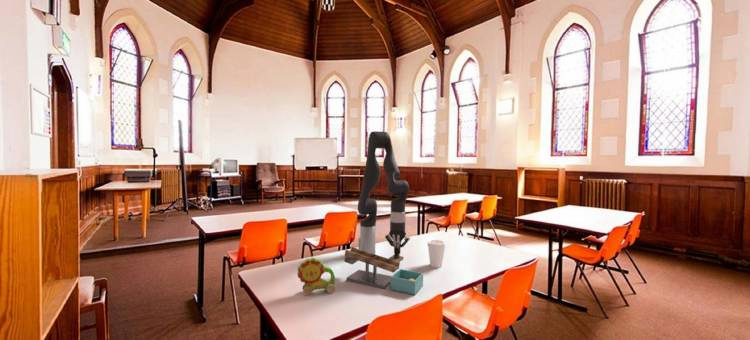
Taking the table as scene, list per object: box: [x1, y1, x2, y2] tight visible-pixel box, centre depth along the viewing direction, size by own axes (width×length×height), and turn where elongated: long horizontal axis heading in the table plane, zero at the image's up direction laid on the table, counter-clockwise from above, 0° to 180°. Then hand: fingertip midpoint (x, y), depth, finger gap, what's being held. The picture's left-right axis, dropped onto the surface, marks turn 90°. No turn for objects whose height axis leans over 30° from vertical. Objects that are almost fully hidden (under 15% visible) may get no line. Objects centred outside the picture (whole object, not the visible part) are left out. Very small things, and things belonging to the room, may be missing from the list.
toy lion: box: [297, 257, 336, 296], centre depth 139 cm, size 16×5×15 cm, turn 105°
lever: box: [344, 246, 404, 274], centre depth 159 cm, size 26×18×6 cm
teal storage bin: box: [390, 268, 424, 296], centre depth 146 cm, size 11×11×6 cm
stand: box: [345, 262, 393, 290], centre depth 154 cm, size 20×12×10 cm, turn 64°
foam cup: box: [427, 239, 446, 269], centre depth 175 cm, size 10×9×13 cm
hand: (397, 255), depth 160 cm, fingers closed
